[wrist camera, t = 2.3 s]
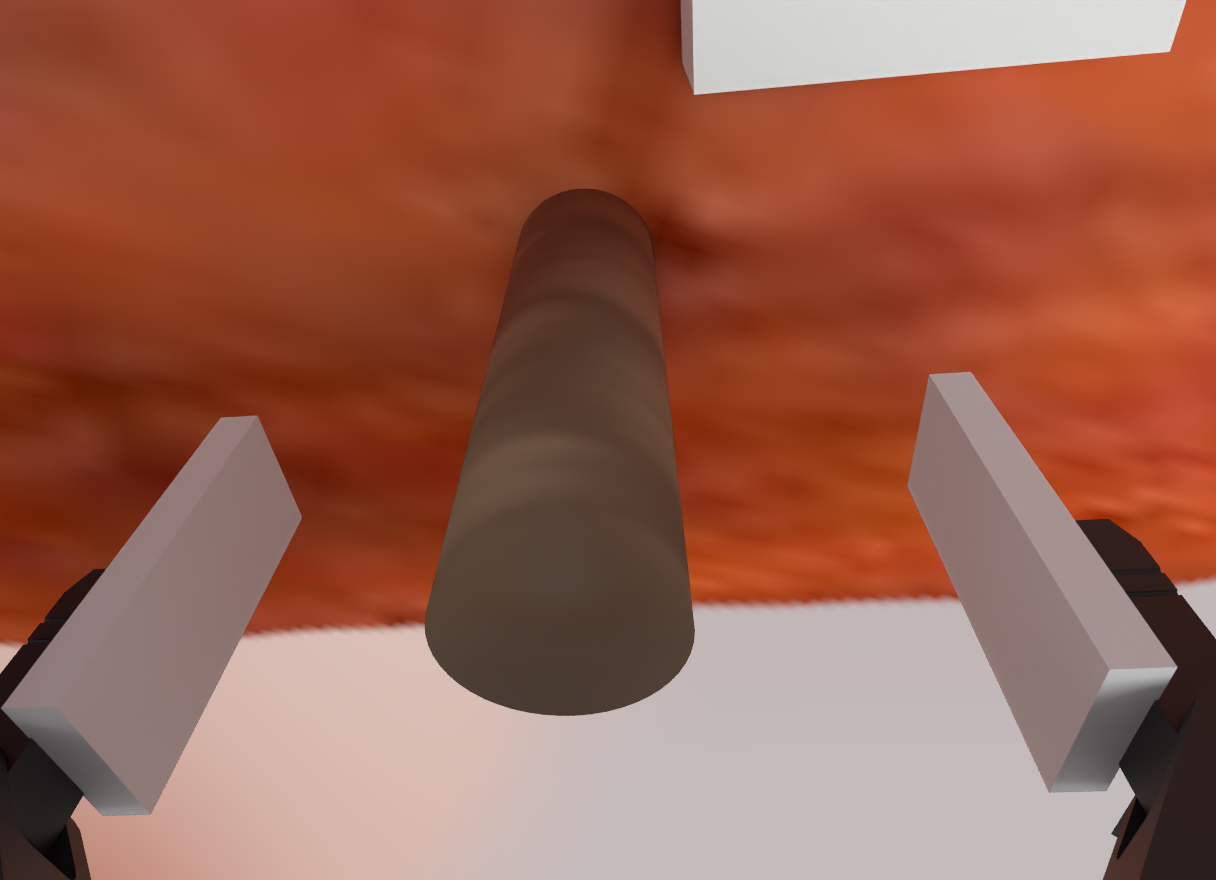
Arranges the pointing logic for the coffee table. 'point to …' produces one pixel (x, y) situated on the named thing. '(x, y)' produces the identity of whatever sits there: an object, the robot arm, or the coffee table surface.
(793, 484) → the coffee table surface
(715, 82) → the station
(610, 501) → the peg
